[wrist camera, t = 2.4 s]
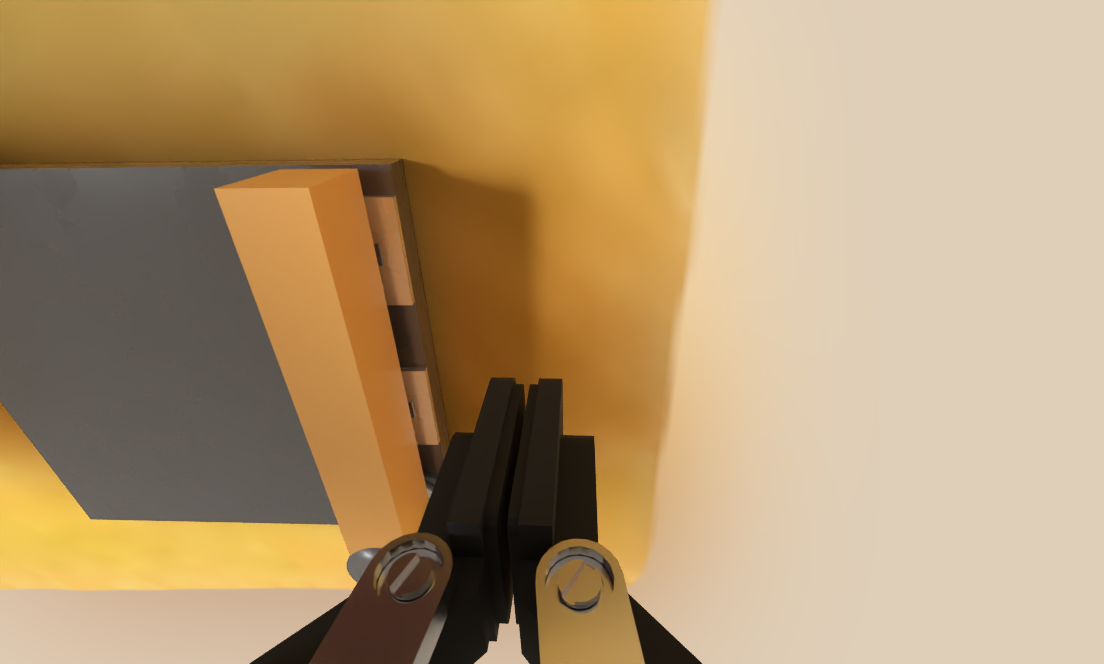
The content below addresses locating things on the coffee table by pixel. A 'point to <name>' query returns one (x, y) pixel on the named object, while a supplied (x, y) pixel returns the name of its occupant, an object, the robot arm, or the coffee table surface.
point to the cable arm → (333, 345)
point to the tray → (177, 340)
